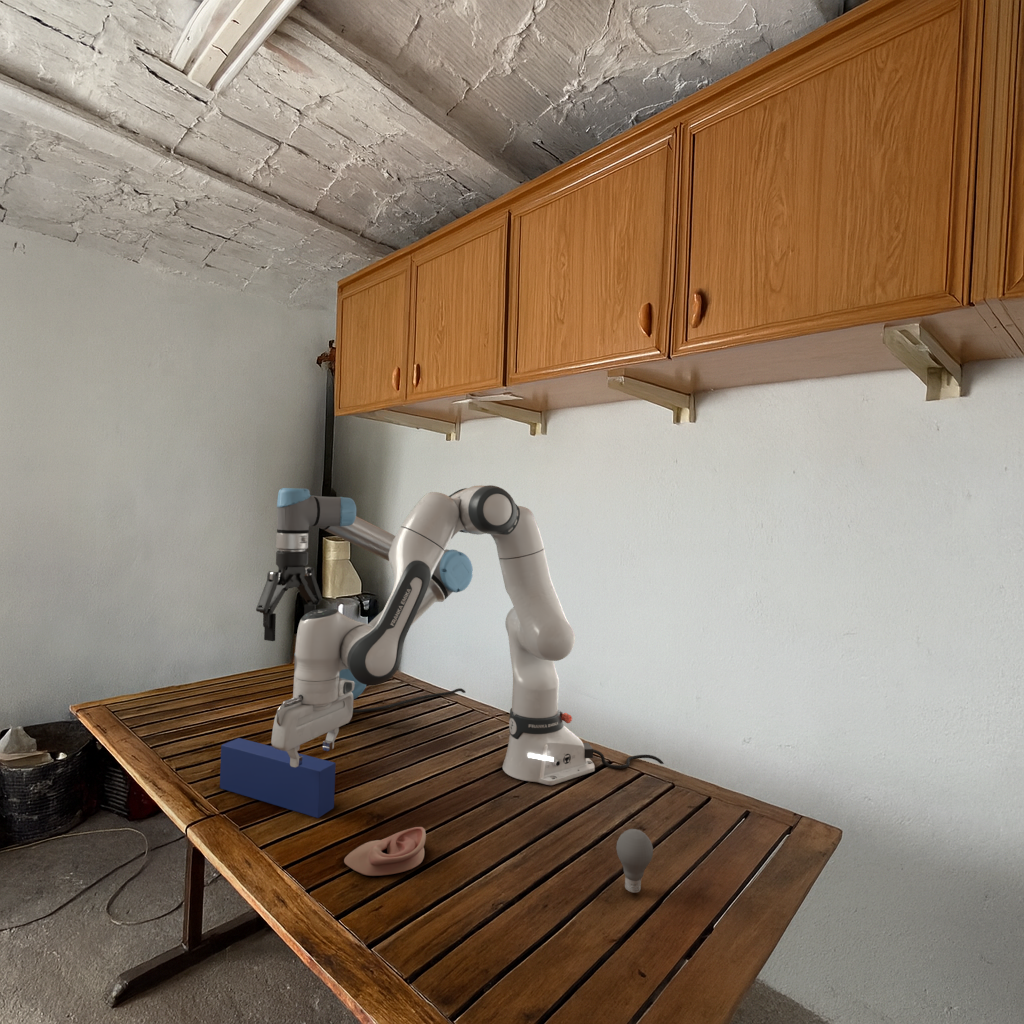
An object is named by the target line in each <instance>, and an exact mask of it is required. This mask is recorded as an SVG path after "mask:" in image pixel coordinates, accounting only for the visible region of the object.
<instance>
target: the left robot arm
mask: <svg viewBox="0 0 1024 1024" xmlns="http://www.w3.org/2000/svg"><path fill="white" fill-rule="evenodd" d="M310 527H316V528H319V529H321V530H324V531H325V532H327V533H330V534H332V535H334V536H335V537H337V538H339V539H342V540H344V541H346V542H348V543H350V544H352V545H354V546H356V547H358V548H360V549H363V550H365V551H367V552H369V553H370V554H373V555H375V556H377V557H379V558H382V559H384V560H385V561H388V562H389V551H390V548H391V545H392V542H393V540H394V538H395V536H396V535H394V534H392V533H390V532H389V531H386V529H385V530H384V529H382V528H381V527H379V526H377V525H375V524H373V523H371V522H369V521H367V520H365V519H363V518H361V517H359V516H357V505H356V503H355V500H354V499H353V498H352V497H343V496H321V495H320V496H319V495H311V492H310V489H308V488H300V487H299V488H296V487H295V488H294V487H282V488H280V489H279V490H278V493H277V503H276V539H275V541H276V542H275V548H276V549H277V551H276V552H275V565H276V566H277V568H278V569H277V571H271V570H270V571H268V572H267V575H266V576H267V577H266V582H265V584H264V586H263V589H262V592H261V594H260V598H259V600H258V603H257V606H256V608H255V611H256V612H259V613H261V614H262V620H263V621H262V627H263V628H264V632H263V640H264V641H268V642H276V626H277V625H276V624H277V621H276V620H277V619H276V618H277V613H274V612H275V610H276V608H278V607H277V606H278V605H279V604H280V602H281V599H282V598H283V597H284V595H285V593H286V592H288V590H289V589H293V588H297V590H298V591H299V593H300V595H301V596H302V598H303V599H304V600H305V602H306V603H305V604H304V608H303V609H304V610H303V612H304V613H303V616H304V615H305V614H307V613H309V612H311V611H314V610H317V607H316V606H320V603H321V602H322V600H323V597H322V594H321V590H320V587H319V584H318V581H317V579H316V575H315V567H312V566H308V564H309V552H308V551H307V549H309V533H310V530H309V529H310ZM473 571H474V569H473V563H472V561H471V559H470V558H469V557H468V555H467V554H466V553H464V552H461V551H459V550H457V549H447V548H446V550H445V551H444V554H443V555H442V557H441V559H440V561H439V563H438V565H437V567H436V569H435V571H434V573H433V575H432V577H431V580H430V583H429V586H428V588H427V591H426V593H425V596H424V598H423V600H422V603H421V605H420V607H419V609H418V611H417V613H416V616H415V618H414V620H413V622H412V624H411V626H412V625H414V623H416V621H417V620H419V619H420V617H422V616H423V615H424V614H425V613H426V612H427V611H428V610H429V609H430V608H431V607H432V606H433V605H434V604H435V603H443V602H445V601H446V600H447V598H449V597H450V595H451V594H452V593H460V592H463V591H465V590H466V589H467V588H468V587H469V585H470V584H471V582H472V580H473ZM381 614H382V611H380V612H379V613H378V614H377V615H376V616H375V617H374V618H373V619H371V621H370V622H368V624H369V625H371V626H373V627H374V626H375V625H376V624H377V622H378V620H379V618H380V616H381ZM293 654H294V655H293V656H294V672H293V674H294V673H295V670H296V666H297V660H296V656H295V653H293ZM339 678H343V679H347V680H351V681H354V683H355V685H354V690H353V691H352V693H353V701H354V700H356V699H358V697H360V696H361V695H362V694H363V693H364V691H365V690H366V688H367V685H365V684H362V683H360V682H359V681H357V680H356V679H355V677H354V676H353V675H352V673H351V672H350V670H349V669H343V670H341V671H340V673H339ZM458 692H461V693H462V694H465V693H466V690H465V689H463V688H460V687H459V688H455V689H453V690H450V691H443V692H438V693H431V694H426V695H421V696H417V697H413V698H408V699H403V700H401V701H399V702H394V703H390V704H386V705H382V706H376V707H370V708H362V709H361V708H360V709H353V714H357V713H358V714H360V713H361V714H362V713H369V712H377V711H381V710H385V709H391V708H395V707H397V706H400V705H404V704H409V703H412V702H417V701H420V700H425V699H429V698H434V697H435V698H436V697H442V696H449V695H453V694H455V693H458Z"/></svg>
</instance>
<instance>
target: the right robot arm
mask: <svg viewBox="0 0 1024 1024" xmlns="http://www.w3.org/2000/svg"><path fill="white" fill-rule="evenodd" d="M457 533H465V534H472V535H476V536H477V535H478V536H479V535H484V534H487V535H490V536H491V537H492V539H493V541H494V544H495V545H496V551H497V557H498V561H499V566H500V570H501V574H502V579H503V584H504V589H505V591H506V593H507V595H508V596H509V599H510V601H511V603H512V605H513V607H512V608H511V609H510V610H509V611H508V613H507V614H506V616H505V623H504V624H505V629H506V634H507V637H508V645H509V656H510V662H511V671H512V694H511V695H512V696H511V708H510V710H509V718H508V719H509V720H508V721H509V722H508V733H509V738H508V743H507V748H506V753H505V757H504V760H503V763H502V767H501V768H502V770H503V772H504V773H505V774H506V775H508V777H509V776H510V777H512V778H514V779H517V780H519V781H520V780H521V781H525V782H533V783H539V784H542V785H546V786H554V785H557V784H561V783H563V782H566V781H569V780H573V779H576V778H578V777H581V776H585V775H588V774H590V773H593V772H595V771H596V766H595V763H594V762H593V760H592V759H593V758H594V754H596V755H598V756H599V757H600V758H601V763H602V764H603V765H604V766H605V767H606V768H607V767H608V768H610V769H614V770H622V769H627V768H629V767H630V761H633V760H639V759H652V760H654V761H656V762H657V763H659V764H660V765H664V764H665V763H664V761H663V760H662V759H660V758H659V757H657V756H654V755H653V754H652V755H651V754H637V755H632V756H628V757H627V758H626V763H625V764H620V765H619V764H618V765H617V764H610V763H608V762H607V761H606V759H605V756H604V754H603V753H602V752H601V751H599V750H596V749H594V748H593V747H592V745H591V744H590V743H589V742H583V741H582V739H581V738H580V737H579V736H578V735H576V734H575V733H574V732H573V731H572V730H570V729H569V728H568V727H566V726H565V725H564V723H566V724H570V723H571V722H572V721H573V716H572V715H571V714H569V713H567V712H564V713H563V711H562V710H560V709H559V690H560V689H559V688H560V678H559V675H558V672H557V669H556V665H555V662H558V661H561V660H563V659H565V658H567V657H568V656H569V655H570V654H571V652H572V651H573V649H574V646H575V642H576V635H575V631H574V629H573V627H572V625H571V623H570V622H569V621H568V619H567V616H566V614H565V611H564V609H563V606H562V603H561V601H560V598H559V596H558V594H557V591H556V588H555V585H554V584H553V580H552V576H551V573H550V569H549V564H548V559H547V554H546V551H545V549H546V548H545V545H544V541H543V538H542V534H541V531H540V529H539V525H538V523H537V520H536V518H535V515H534V514H533V511H532V510H531V509H529V508H528V507H526V506H521V505H518V504H517V503H516V502H515V500H514V498H513V497H512V496H511V494H510V493H509V492H508V491H507V490H505V489H504V488H502V487H499V486H496V485H493V484H491V485H489V484H488V485H483V484H481V485H472V486H471V487H464V488H461V489H458V490H456V491H455V492H453V493H452V494H450V495H447V494H445V493H442V492H437V491H431V492H428V493H426V494H424V495H423V496H422V497H421V498H420V499H419V500H418V501H417V503H416V504H415V505H414V506H413V508H412V509H411V510H410V512H408V515H407V516H406V517H405V519H404V520H403V522H402V524H401V525H400V527H399V529H398V530H397V532H396V534H395V535H394V536H395V538H394V540H393V542H392V545H391V548H390V551H389V561H388V562H389V565H390V567H391V569H392V574H393V588H392V591H391V593H390V595H389V597H388V598H387V602H386V603H385V605H384V608H383V610H382V611H381V612H382V614H381V616H380V618H379V620H378V622H377V624H376V625H375V626H374V627H373V626H371V625H369V623H366V622H362V621H358V620H356V619H353V618H351V617H349V616H347V615H346V614H344V613H342V612H340V611H339V610H338V609H336V608H332V607H329V608H328V607H327V608H326V607H325V608H317V609H316V610H314V611H311V612H309V613H307V614H305V615H304V614H303V616H302V617H301V618H300V620H299V623H298V627H297V633H296V637H295V648H294V649H295V650H294V654H295V656H296V660H297V666H296V670H295V673H294V672H293V686H292V687H293V688H292V691H293V692H292V697H291V698H290V699H284V701H282V703H281V705H280V706H279V707H278V708H277V709H276V713H275V716H274V719H273V720H274V721H273V726H272V733H271V741H270V744H271V746H272V747H274V748H275V749H278V750H282V751H287V753H288V755H289V757H290V766H291V767H295V768H296V767H298V766H300V765H302V756H299V755H298V753H299V752H298V751H299V750H300V747H301V745H304V744H305V743H308V742H310V741H313V740H315V739H316V738H318V737H319V738H320V737H321V736H322V735H325V734H326V736H325V740H323V741H322V751H326V752H330V751H331V750H333V749H334V748H335V741H336V739H337V736H338V734H339V731H340V727H342V726H345V725H346V724H349V723H351V720H352V718H353V714H354V713H353V710H354V700H353V693H352V691H353V690H354V685H355V683H354V681H351V680H347V679H343V678H339V673H340V671H341V670H343V669H349V670H350V672H351V673H352V675H353V676H354V677H355V679H356V680H357V681H359V682H360V683H362V684H365V685H366V686H377V685H381V684H384V683H386V682H388V681H389V680H391V679H392V678H393V677H394V676H395V674H396V673H397V671H398V670H399V668H400V665H401V662H402V657H403V649H404V644H405V641H406V637H407V635H408V632H409V631H410V628H411V626H412V625H413V624H412V622H413V620H414V618H415V616H416V613H417V611H418V609H419V607H420V605H421V603H422V600H423V598H424V596H425V593H426V591H427V588H428V586H429V583H430V580H431V577H432V575H433V573H434V571H435V569H436V567H437V565H438V563H439V561H440V559H441V557H442V555H443V554H444V551H445V550H446V549H447V548H448V546H449V544H450V542H451V540H452V539H453V538H454V537H455V536H456V534H457ZM411 624H412V625H411ZM295 656H294V657H295Z"/></svg>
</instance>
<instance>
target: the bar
mask: <svg viewBox="0 0 1024 1024" xmlns="http://www.w3.org/2000/svg"><path fill="white" fill-rule="evenodd" d="M298 755H299V756H302V765H300V766H298V767H296V768H295V767H291V766H290V757H289V755H288V753H287V751H282V750H278V749H275V748H274V747H273V746H272V745H269V744H264V743H260V742H257V741H252V740H248V739H245V738H241V737H238V738H235V739H232V740H230V741H227V742H224V743H223V744H221V746H220V770H219V771H220V772H219V788H220V789H221V790H225V791H228V792H231V793H234V794H237V795H240V796H243V797H247V798H250V799H254V800H257V801H261V802H264V803H267V804H271V805H273V806H276V807H280V808H284V809H287V810H290V811H293V812H296V813H300V814H303V815H307V816H309V817H313V818H315V819H319V818H321V817H323V816H324V815H325V814H327V813H328V812H330V811H332V810H333V809H335V789H336V788H335V787H336V765H337V764H336V762H334V761H330V760H326V759H322V758H320V757H319V758H318V757H315V756H311V755H307V754H303V753H299V752H298Z"/></svg>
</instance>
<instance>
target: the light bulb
mask: <svg viewBox="0 0 1024 1024" xmlns="http://www.w3.org/2000/svg"><path fill="white" fill-rule="evenodd" d="M615 849H616V854H617V857H618V859H619V861H620V863H621V865H622V867H623V873H624V874H623V875H624V876H625V878H624V888H625V890H627V891H628V892H630V893H634V894H635V893H639V892H640V891H641V889H642V887H641V886H642V879H643V877H644V875H645V871H646V868H647V867H648V866H649V864H650V863H651V861H652V859H653V855H654V847H653V843H652V841H651V838H649V836H648V835H647V834H646V833H645V832H643V831H642V830H641V829H636V828H629V829H627V830H625V831H623V832H622V833H621V834H620V835H619V837H618V839H617V841H616V847H615Z"/></svg>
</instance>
